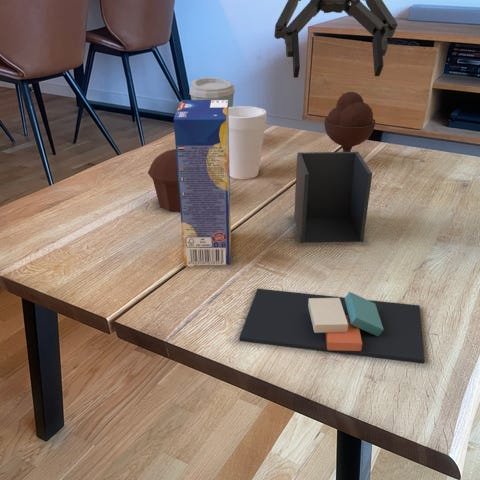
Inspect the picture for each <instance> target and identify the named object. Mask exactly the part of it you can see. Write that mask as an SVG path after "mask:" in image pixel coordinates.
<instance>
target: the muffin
mask: <svg viewBox="0 0 480 480" xmlns="http://www.w3.org/2000/svg"><path fill="white" fill-rule="evenodd" d="M147 175H149V177H150V178H151V179H152V182H153V186H154V190H155V193H156V198H157V201H158V205H159V209H162V210H166V211H168V212H170V213H181V212H180V198H179V185H178V171H177V158H176V148H174V149H169V150H166V151H164V152H162V153H160V154H159V155H157V156H156V157H155V158H154V160H153V161H152V162H151V164H150V166H149V169H148V171H147Z"/></svg>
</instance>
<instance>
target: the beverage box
mask: <svg viewBox="0 0 480 480" xmlns="http://www.w3.org/2000/svg"><path fill="white" fill-rule="evenodd" d="M173 129H174V131H173V132H174V142H175V143H174V144H175V149H176V158H177V171H178V185H179V198H180V212H179V213H180V223H181V224H180V225H181V237H182V251H183V265H184V268H185V267H190V268H191V267H192V268H193V267H194V266H204V265H205V266H217V265H218V266H221V265H222V266H225V265H226V266H227V265H228V266H229V265H230V260H231V239H232V229H231V228H232V226H231V225H232V224H231V222H232V221H231V179H230V178H231V177H230V168H229V119H228V100H192V99H181V100H180V102H179V105H178V107H177V110H176V112H175V115H174V117H173Z"/></svg>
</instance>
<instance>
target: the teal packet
mask: <svg viewBox="0 0 480 480" xmlns="http://www.w3.org/2000/svg"><path fill="white" fill-rule="evenodd" d="M344 298H345V303H346V307H347V311H348V315H349V319H350V323H351V325H353V326H355V327H358V328H360V329H362V330H364V331H367V332H369V333H371V334H373V335H376V336H379V335H380V334H381V333H382V332H383V330H384V329H383V326H382V323H381V320H380V317H379V314H378V311H377V308H376V305H375V303H373V302H371V301H369V300H370V299H366V298H364V297H362V296H360V295H357V294H356V293H354V292H351V291H348V293H347V294H346V296H345V297H344Z"/></svg>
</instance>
